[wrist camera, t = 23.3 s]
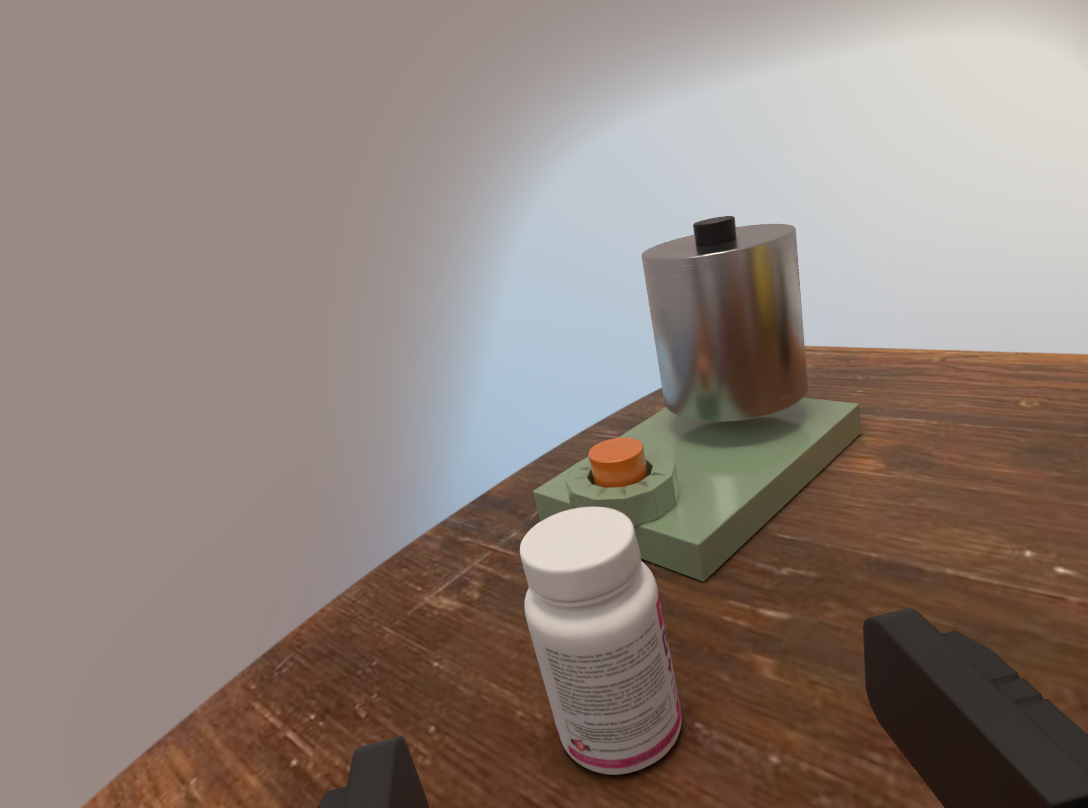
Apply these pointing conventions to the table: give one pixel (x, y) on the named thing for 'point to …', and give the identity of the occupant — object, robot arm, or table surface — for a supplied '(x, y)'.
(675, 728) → the pill bottle
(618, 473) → the orange push button
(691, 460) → the base
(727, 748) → the table surface
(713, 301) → the kettle
